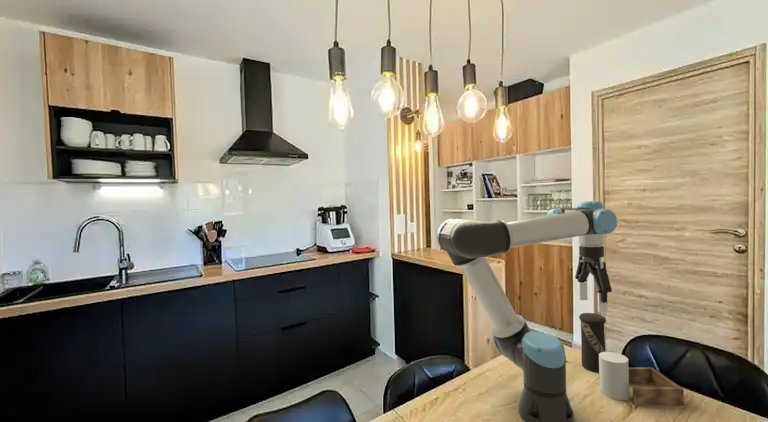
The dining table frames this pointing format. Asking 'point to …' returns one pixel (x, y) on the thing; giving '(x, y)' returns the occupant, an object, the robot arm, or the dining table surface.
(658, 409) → the dining table surface
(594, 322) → the container
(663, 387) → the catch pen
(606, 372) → the white cylinder
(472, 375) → the dining table surface
